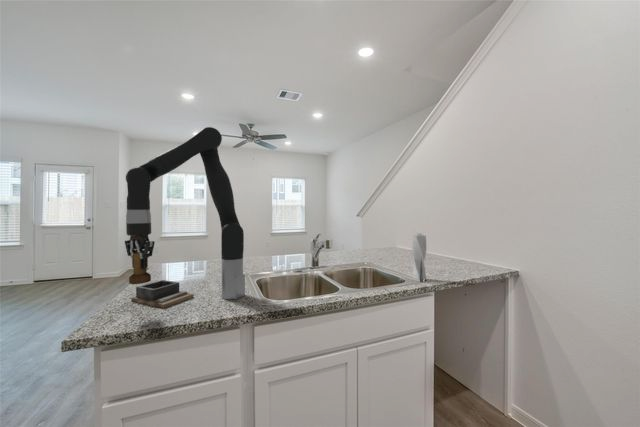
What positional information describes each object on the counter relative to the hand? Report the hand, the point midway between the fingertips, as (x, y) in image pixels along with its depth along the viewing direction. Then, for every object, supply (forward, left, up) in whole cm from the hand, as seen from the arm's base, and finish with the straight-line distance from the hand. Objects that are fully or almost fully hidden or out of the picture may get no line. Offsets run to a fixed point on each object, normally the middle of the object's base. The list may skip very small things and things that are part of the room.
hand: (139, 267), depth 94 cm
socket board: (+7, -14, -17) cm, 23 cm away
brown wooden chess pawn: (0, 0, -6) cm, 6 cm away
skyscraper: (-95, -93, -18) cm, 134 cm away
